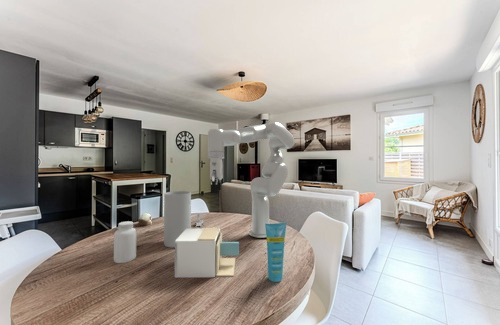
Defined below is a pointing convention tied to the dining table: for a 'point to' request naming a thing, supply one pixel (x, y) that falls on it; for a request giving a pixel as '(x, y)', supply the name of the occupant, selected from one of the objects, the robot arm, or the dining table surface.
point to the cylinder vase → (176, 215)
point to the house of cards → (199, 221)
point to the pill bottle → (125, 242)
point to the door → (228, 248)
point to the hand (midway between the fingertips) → (216, 191)
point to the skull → (144, 220)
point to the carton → (201, 254)
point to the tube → (275, 250)
